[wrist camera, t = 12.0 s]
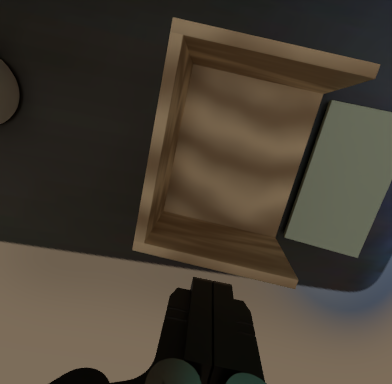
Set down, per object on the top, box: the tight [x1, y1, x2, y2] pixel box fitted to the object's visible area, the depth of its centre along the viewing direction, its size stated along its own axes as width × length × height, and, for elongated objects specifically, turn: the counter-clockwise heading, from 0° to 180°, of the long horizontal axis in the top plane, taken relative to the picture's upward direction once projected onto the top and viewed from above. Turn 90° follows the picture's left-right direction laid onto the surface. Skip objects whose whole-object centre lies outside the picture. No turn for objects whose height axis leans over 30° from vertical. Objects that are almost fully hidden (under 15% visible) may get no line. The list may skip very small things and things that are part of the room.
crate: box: [132, 17, 380, 289], centre depth 27 cm, size 20×16×11 cm
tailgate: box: [283, 100, 392, 258], centre depth 30 cm, size 17×2×9 cm
